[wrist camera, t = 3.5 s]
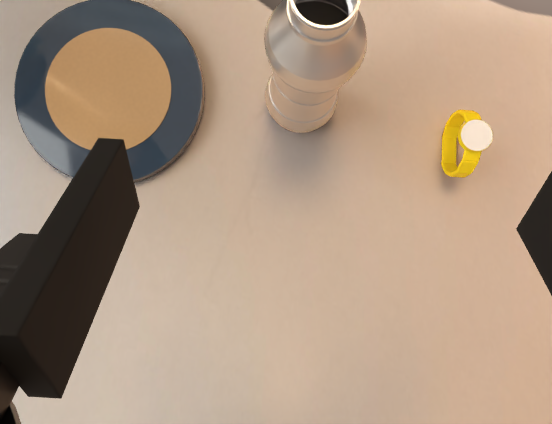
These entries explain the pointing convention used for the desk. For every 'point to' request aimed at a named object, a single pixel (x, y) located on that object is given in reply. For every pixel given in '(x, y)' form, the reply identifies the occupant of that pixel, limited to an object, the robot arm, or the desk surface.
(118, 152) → the robot arm
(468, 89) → the desk surface
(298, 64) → the silver metal bottle
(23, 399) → the desk surface
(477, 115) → the watch
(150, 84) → the plate
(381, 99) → the desk surface
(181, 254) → the desk surface
